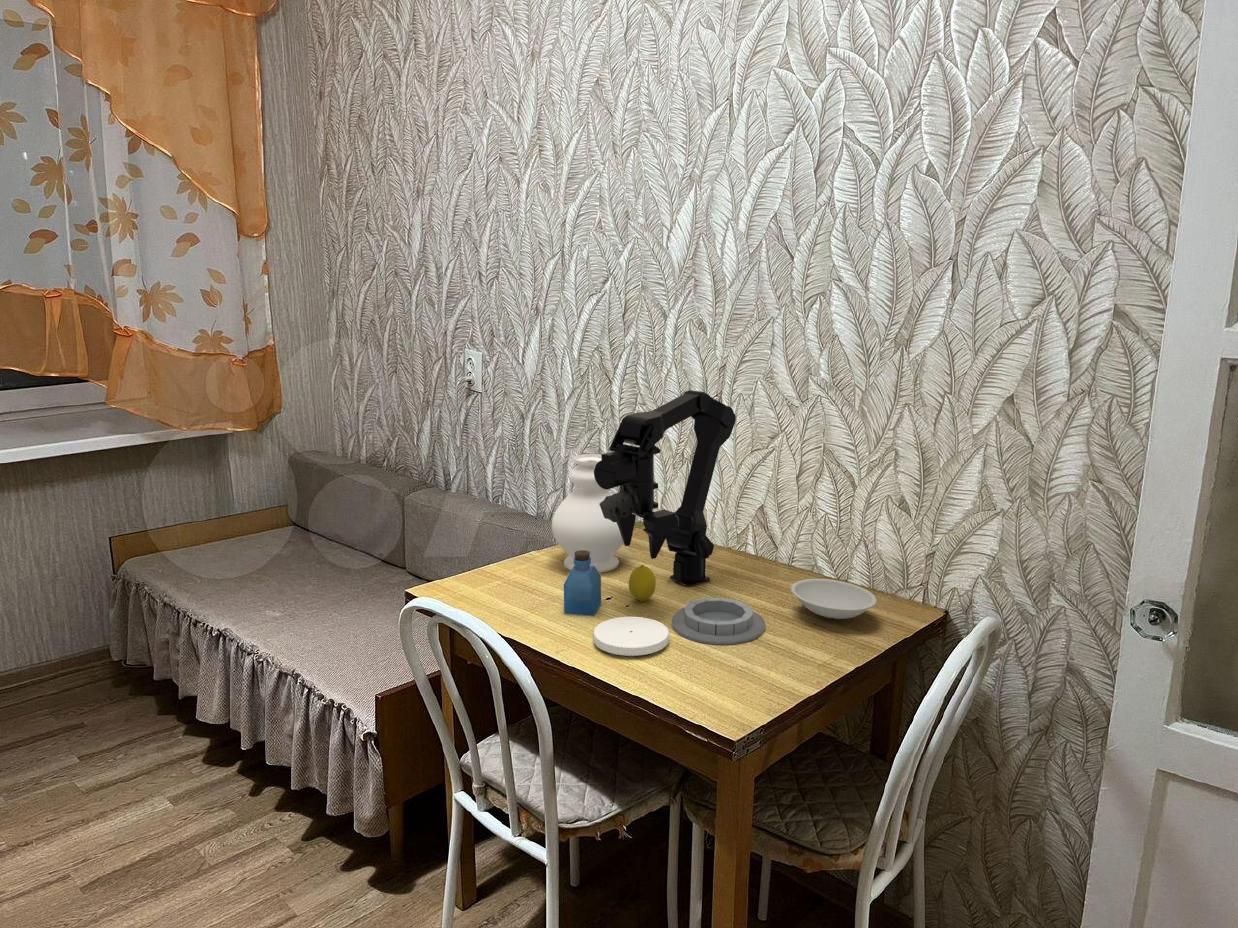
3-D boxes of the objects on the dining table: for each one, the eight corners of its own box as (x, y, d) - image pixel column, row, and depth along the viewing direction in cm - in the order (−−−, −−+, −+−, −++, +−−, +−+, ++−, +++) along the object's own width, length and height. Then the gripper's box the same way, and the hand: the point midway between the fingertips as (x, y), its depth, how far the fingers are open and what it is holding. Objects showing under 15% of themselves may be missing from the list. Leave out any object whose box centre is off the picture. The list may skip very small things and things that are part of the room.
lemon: (627, 597, 198) (627, 560, 196) (653, 596, 199) (654, 560, 197) (630, 607, 193) (630, 570, 191) (657, 606, 193) (657, 569, 191)
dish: (773, 613, 190) (774, 589, 189) (818, 595, 199) (819, 573, 198) (846, 641, 177) (848, 616, 176) (890, 620, 186) (892, 597, 185)
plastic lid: (684, 646, 176) (684, 633, 175) (625, 668, 167) (625, 654, 167) (635, 622, 186) (635, 610, 186) (578, 641, 178) (578, 629, 177)
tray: (722, 600, 196) (722, 586, 196) (784, 629, 182) (785, 615, 181) (653, 620, 186) (653, 606, 186) (713, 653, 172) (713, 637, 171)
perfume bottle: (594, 616, 189) (593, 559, 186) (564, 613, 190) (563, 556, 187) (601, 604, 195) (600, 548, 192) (571, 601, 196) (571, 546, 193)
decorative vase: (644, 559, 220) (645, 454, 214) (602, 583, 206) (601, 471, 200) (581, 546, 230) (580, 445, 224) (536, 567, 215) (534, 461, 209)
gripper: (580, 474, 192) (582, 547, 196) (633, 496, 177) (634, 574, 181) (625, 466, 198) (626, 536, 202) (680, 486, 183) (680, 561, 187)
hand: (640, 551), depth 193 cm, fingers open, 9 cm apart
